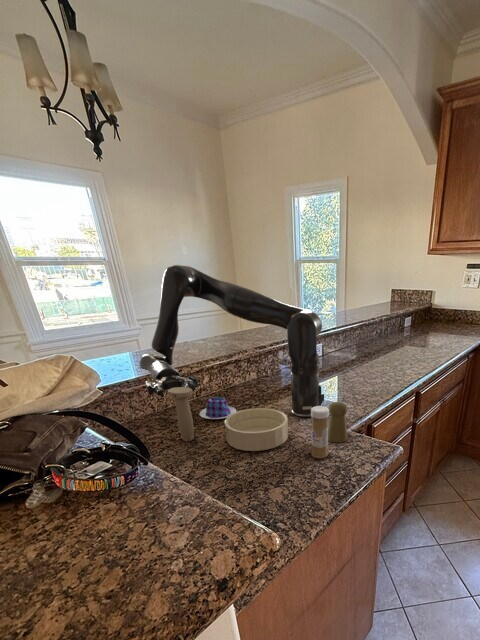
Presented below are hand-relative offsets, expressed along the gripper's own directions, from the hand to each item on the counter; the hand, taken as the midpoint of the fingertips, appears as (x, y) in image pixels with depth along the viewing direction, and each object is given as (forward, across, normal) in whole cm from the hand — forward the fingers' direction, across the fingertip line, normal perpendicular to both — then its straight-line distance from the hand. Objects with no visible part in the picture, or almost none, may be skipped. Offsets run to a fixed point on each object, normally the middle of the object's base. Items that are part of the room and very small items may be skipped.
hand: (177, 391), depth 101 cm
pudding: (-8, +13, +13) cm, 20 cm away
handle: (+6, 0, +13) cm, 14 cm away
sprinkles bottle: (+34, +27, +13) cm, 45 cm away
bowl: (+16, +17, +13) cm, 27 cm away
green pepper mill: (+28, +37, +13) cm, 48 cm away
